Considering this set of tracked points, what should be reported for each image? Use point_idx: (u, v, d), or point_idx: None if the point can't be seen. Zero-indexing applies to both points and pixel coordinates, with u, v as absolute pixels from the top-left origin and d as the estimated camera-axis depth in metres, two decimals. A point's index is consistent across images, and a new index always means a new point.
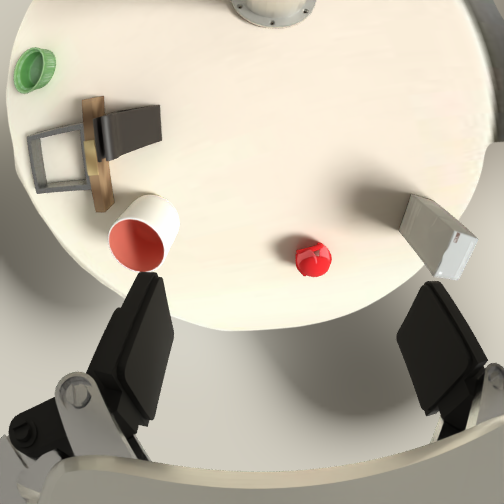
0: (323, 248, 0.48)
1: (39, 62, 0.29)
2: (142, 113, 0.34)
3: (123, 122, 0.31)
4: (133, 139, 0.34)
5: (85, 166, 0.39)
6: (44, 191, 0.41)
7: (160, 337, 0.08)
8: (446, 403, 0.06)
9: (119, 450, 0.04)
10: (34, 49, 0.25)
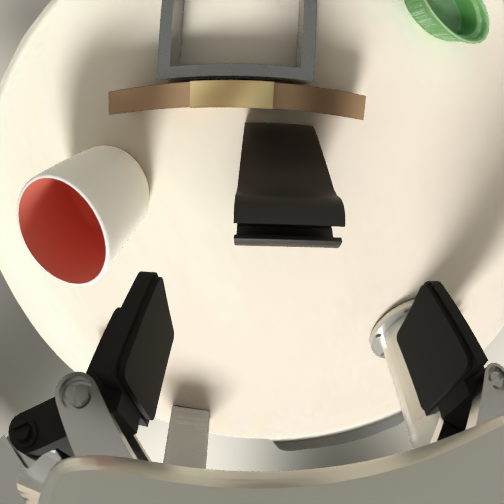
0: None
1: (448, 10, 0.13)
2: None
3: None
4: None
5: (211, 67, 0.17)
6: None
7: (160, 337, 0.08)
8: (446, 403, 0.06)
9: (119, 450, 0.04)
10: (484, 29, 0.11)
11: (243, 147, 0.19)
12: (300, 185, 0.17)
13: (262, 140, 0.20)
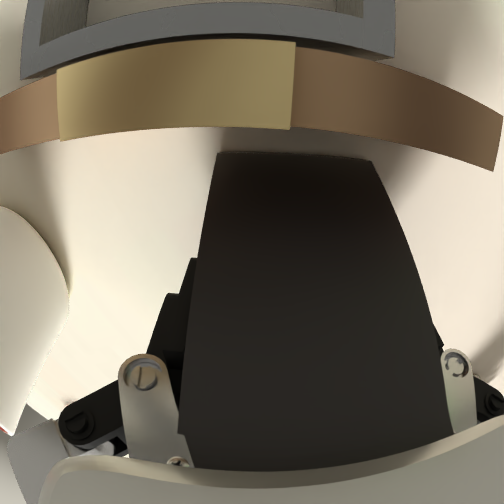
0: None
1: None
2: None
3: None
4: None
5: (121, 24, 0.05)
6: None
7: None
8: None
9: (176, 440, 0.04)
10: None
11: (203, 245, 0.07)
12: (370, 420, 0.04)
13: (258, 215, 0.08)
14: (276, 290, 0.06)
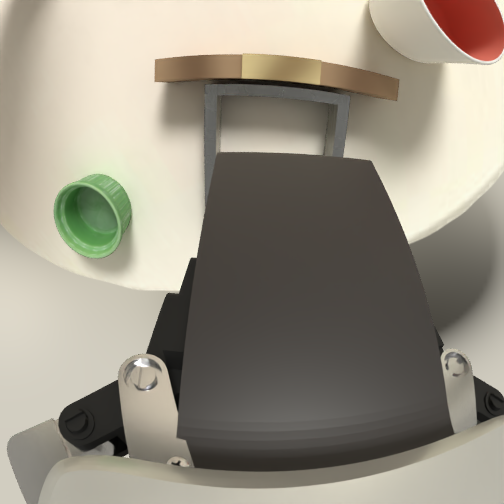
0: None
1: (90, 210, 0.28)
2: None
3: None
4: None
5: (299, 96, 0.20)
6: None
7: None
8: None
9: (176, 440, 0.04)
10: (57, 210, 0.24)
11: (203, 245, 0.07)
12: (370, 420, 0.04)
13: (258, 215, 0.08)
14: (276, 290, 0.06)
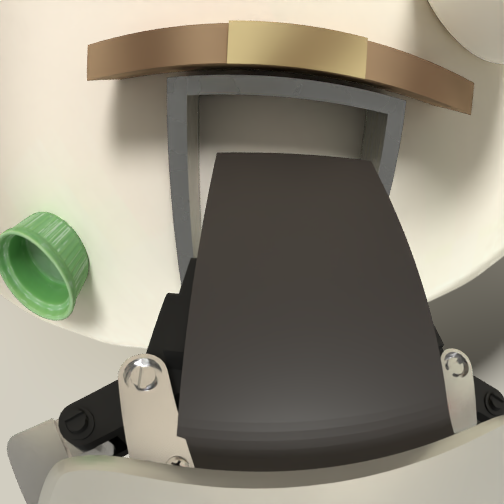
0: None
1: (41, 255, 0.20)
2: None
3: None
4: None
5: (327, 97, 0.11)
6: None
7: None
8: None
9: (176, 440, 0.04)
10: (0, 261, 0.16)
11: (203, 245, 0.07)
12: (370, 421, 0.04)
13: (258, 215, 0.08)
14: (276, 291, 0.06)
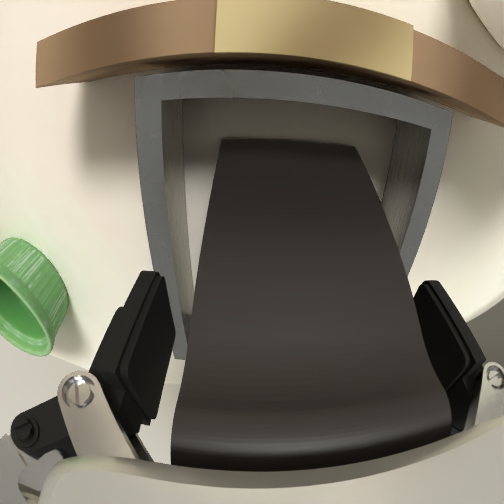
0: None
1: None
2: None
3: None
4: None
5: (356, 103, 0.08)
6: None
7: (162, 336, 0.08)
8: None
9: (121, 449, 0.04)
10: None
11: (211, 206, 0.09)
12: (352, 343, 0.06)
13: (257, 185, 0.09)
14: (271, 239, 0.08)
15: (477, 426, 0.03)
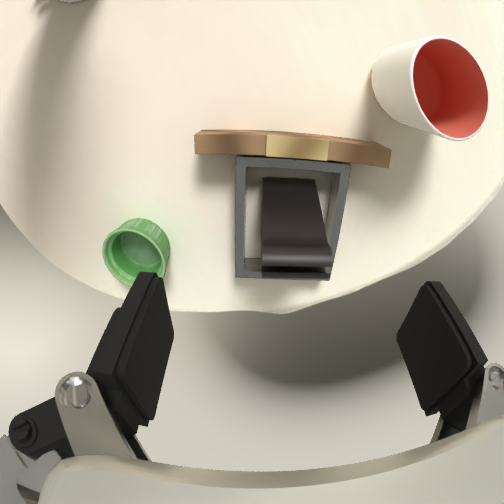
0: None
1: (132, 247, 0.36)
2: None
3: None
4: None
5: (310, 167, 0.27)
6: None
7: (160, 337, 0.08)
8: (446, 403, 0.06)
9: (119, 450, 0.04)
10: (105, 249, 0.32)
11: (263, 203, 0.28)
12: (304, 236, 0.25)
13: (277, 196, 0.29)
14: (282, 212, 0.27)
15: (477, 426, 0.03)
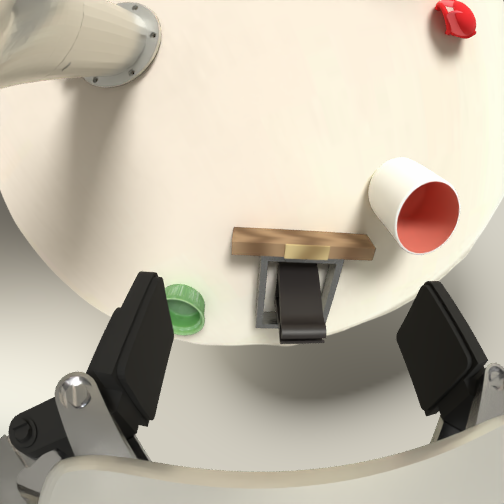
0: (442, 2, 0.17)
1: (173, 303, 0.47)
2: None
3: None
4: None
5: (315, 261, 0.39)
6: (325, 318, 0.45)
7: (160, 337, 0.08)
8: (446, 403, 0.06)
9: (119, 450, 0.04)
10: None
11: (280, 287, 0.40)
12: (308, 315, 0.37)
13: (290, 280, 0.40)
14: (293, 295, 0.39)
15: (477, 426, 0.03)
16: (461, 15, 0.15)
